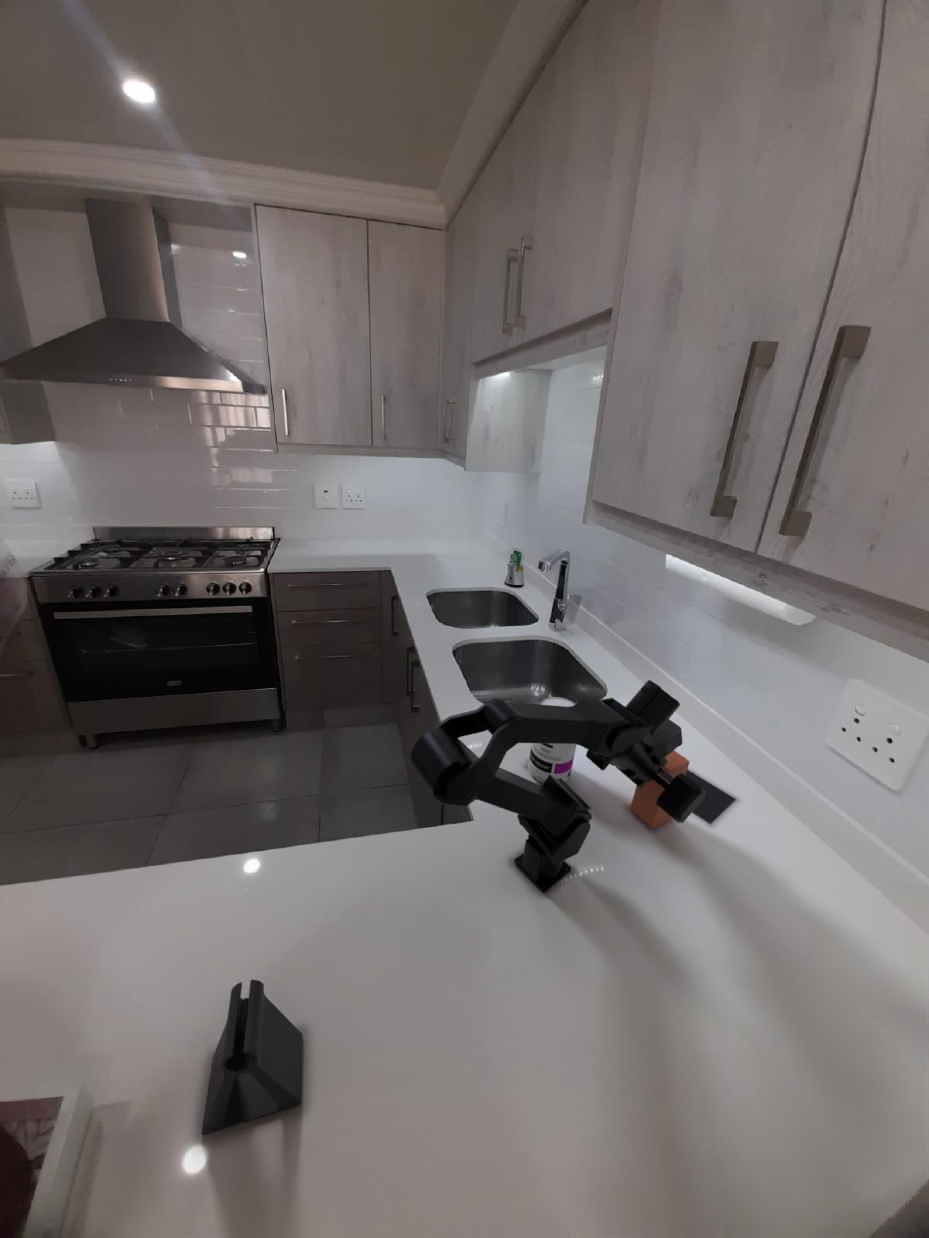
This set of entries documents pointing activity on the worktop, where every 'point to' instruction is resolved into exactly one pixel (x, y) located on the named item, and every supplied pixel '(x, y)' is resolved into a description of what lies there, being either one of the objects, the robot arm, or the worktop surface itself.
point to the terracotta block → (657, 793)
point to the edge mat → (710, 799)
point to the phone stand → (253, 1063)
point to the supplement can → (552, 753)
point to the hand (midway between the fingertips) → (659, 784)
